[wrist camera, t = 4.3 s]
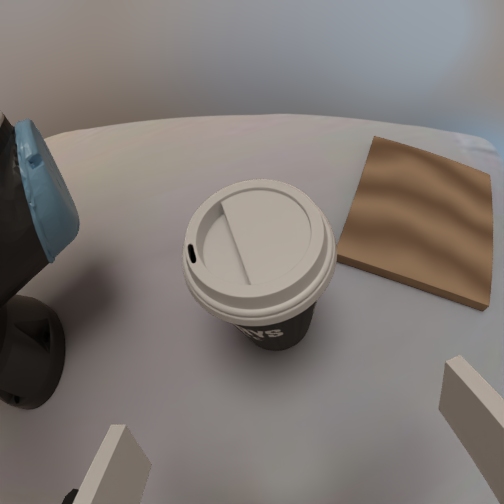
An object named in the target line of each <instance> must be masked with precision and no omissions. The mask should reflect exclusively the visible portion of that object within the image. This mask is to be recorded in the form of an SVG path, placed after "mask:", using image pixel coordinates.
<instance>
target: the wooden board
mask: <svg viewBox="0 0 504 504" xmlns="http://www.w3.org/2000/svg"><path fill="white" fill-rule="evenodd" d="M337 262H340V263H343V264H346V265H349V266H352V267H355V268H358V269H361V270H364V271H367V272H370V273H373V274H376V275H379V276H382V277H385V278H388V279H391V280H394V281H397V282H400V283H403V284H406V285H409V286H412V287H415V288H418V289H421V290H424V291H426V292H429V293H432V294H435V295H438V296H441V297H444V298H447V299H450V300H452V301H455V302H458V303H461V304H464V305H467V306H470V307H472V308H475V309H478V310H481V311H484V310H485V309H486V308H487V307H489V303H490V293H491V281H492V264H493V209H492V192H491V180H490V175H489V174H486V173H484V172H482V171H479V170H477V169H474V168H472V167H469V166H466V165H464V164H461V163H458V162H456V161H453V160H450V159H447V158H445V157H442V156H439V155H436V154H433V153H430V152H427V151H424V150H421V149H418V148H414V147H411V146H408V145H405V144H401V143H398V142H394V141H391V140H387V139H384V138H380V137H376V136H374V138H373V141H372V145H371V148H370V151H369V154H368V158H367V161H366V164H365V167H364V170H363V173H362V176H361V179H360V182H359V185H358V188H357V191H356V194H355V197H354V200H353V203H352V206H351V209H350V212H349V215H348V217H347V220H346V223H345V226H344V228H343V231H342V234H341V237H340V239H339V242H338V245H337Z"/></svg>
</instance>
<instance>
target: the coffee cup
mask: <svg viewBox="0 0 504 504" xmlns="http://www.w3.org/2000/svg"><path fill="white" fill-rule="evenodd" d="M336 261H337V245H336V240H335V236H334V233H333V231H332V228H331V225H330V223H329V221H328V220H327V218H326V216H325V215H324V214H323V212H322V211H321V210H320V208H319V207H318V206H317V205H316V204H315V203H314V202H313V201H312V200H311V199H310V198H309V197H308V196H307V195H306V194H305V193H304V192H302V191H301V190H299V189H298V188H296V187H294V186H292V185H289V184H287V183H284V182H280V181H276V180H268V179H254V180H247V181H242V182H238V183H235V184H232V185H230V186H227V187H225V188H223V189H221V190H219V191H218V192H216V193H214V194H213V195H212V196H210V197H209V198H208V199H207V200H206V201H205V202H203V203H202V205H201V206H200V207H199V208H198V209H197V210H196V212H195V213H194V215H193V217H192V218H191V220H190V222H189V225H188V227H187V231H186V235H185V240H184V245H183V252H182V266H183V272H184V277H185V281H186V284H187V286H188V289H189V291H190V292H191V294H192V296H193V297H194V299H195V300H196V301H197V302H198V303H199V304H200V305H201V306H202V307H203V308H204V309H205V310H206V311H208V312H209V313H210V314H212V315H213V316H215V317H217V318H219V319H221V320H224V321H226V322H229V323H232V324H233V325H235V326H236V327H237V328H238V329H239V330H240V331H241V332H243V333H244V334H245V335H246V336H247V337H248V338H249V339H251V340H252V341H253V342H254V343H255V344H257V345H258V346H260V347H262V348H264V349H268V350H284V349H287V348H290V347H292V346H294V345H295V344H297V343H298V342H299V341H300V340H301V339H302V338H303V337H304V336H305V334H306V332H307V330H308V328H309V325H310V322H311V319H312V315H313V312H314V309H315V306H316V303H317V299H318V298H319V297H320V296H321V295H322V294H323V292H324V291H325V289H326V288H327V286H328V285H329V283H330V281H331V279H332V276H333V274H334V270H335V266H336Z"/></svg>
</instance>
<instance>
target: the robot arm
mask: <svg viewBox="0 0 504 504" xmlns="http://www.w3.org/2000/svg"><path fill="white" fill-rule="evenodd" d="M79 225H80V223H79V216H78V212H77V209H76V206H75V204H74V202H73V199H72V197H71V195H70V193H69V190H68V188H67V186H66V184H65V182H64V180H63V177H62V175H61V173H60V171H59V169H58V167H57V165H56V163H55V161H54V159H53V157H52V155H51V153H50V151H49V149H48V147H47V145H46V143H45V141H44V139H43V137H42V135H41V134H40V132H39V130H38V129H37V128H36V127H35V125H34V123H33V122H32V120H30V119H25V120H23V121H19V122H17V124H15V127H13V126H12V125H11V124H10V123H9V121H8V120H7V118H6V117H5V115H4V114H3V113H2V112H1V111H0V399H1V400H2V401H4V402H5V403H7V404H9V405H11V406H15V407H19V408H23V409H33V408H36V407H38V406H40V405H42V404H43V403H44V402H45V401H46V400H47V399H48V398H49V397H50V396H51V394H52V393H53V391H54V390H55V388H56V386H57V383H58V381H59V378H60V375H61V372H62V368H63V363H64V354H65V342H64V334H63V329H62V326H61V323H60V321H59V318H58V317H57V315H56V313H55V312H54V311H53V310H52V309H51V308H50V307H48V306H47V305H45V304H44V303H42V302H41V301H39V300H37V299H35V298H32V297H27V296H21V295H16V293H17V292H18V291H19V290H20V289H21V288H22V287H24V286H25V285H26V284H27V283H28V282H29V281H30V280H31V279H32V278H33V277H34V276H35V275H36V274H38V273H39V272H40V271H41V270H42V269H43V268H44V267H45V266H46V265H48V264H49V263H53V262H54V260H55V257H56V256H57V255H58V254H59V253H60V252H61V251H62V250H63V249H64V248H65V247H66V246H67V245H69V244H70V243H71V242H72V241H73V240H74V239H75V237H76V236H77V234H78V231H79ZM439 410H440V412H441V413H442V415H443V416H444V418H445V419H446V421H447V422H448V423H449V425H450V426H451V428H452V429H453V431H454V432H455V434H456V435H457V437H458V438H459V440H460V441H461V443H462V444H463V446H464V447H465V449H466V450H467V452H468V453H469V455H470V456H471V458H472V459H473V461H474V462H475V464H476V466H477V467H478V469H479V470H480V472H481V473H482V475H483V477H484V478H485V480H486V481H487V483H488V485H489V486H490V488H491V489H492V491H493V493H494V494H495V496H496V498H497V499H498V501H499V503H500V504H504V399H503V398H502V397H501V396H500V395H499V394H498V393H497V392H496V391H495V390H494V389H493V388H492V387H491V386H490V385H489V384H488V383H487V382H486V381H485V380H484V379H483V377H482V376H481V375H480V374H479V373H478V372H477V371H476V370H475V369H474V368H473V367H472V366H471V365H470V364H469V363H468V362H467V361H466V360H465V359H464V358H463V357H462V356H461V355H459V356H457V357H455V358H452V359H450V360H447V361H445V369H444V377H443V384H442V391H441V397H440V403H439ZM151 466H152V464H151V462H150V461H149V459H148V458H147V457H146V455H145V454H144V452H143V451H142V449H141V448H140V446H139V445H138V443H137V441H136V440H135V438H134V437H133V435H132V434H131V432H130V430H129V429H128V427H127V426H126V425H111V426H110V428H109V430H108V432H107V434H106V436H105V438H104V440H103V442H102V444H101V446H100V448H99V450H98V452H97V454H96V456H95V458H94V460H93V462H92V464H91V466H90V468H89V470H88V472H87V474H86V476H85V478H84V480H83V483H82V485H81V487H80V489H79V490H78V489H73V490H72V491H71V492H70V493H68V494H67V495H66V496H65V498H64V500H63V502H62V504H140V502H141V498H142V495H143V492H144V489H145V485H146V482H147V479H148V476H149V472H150V469H151Z"/></svg>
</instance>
